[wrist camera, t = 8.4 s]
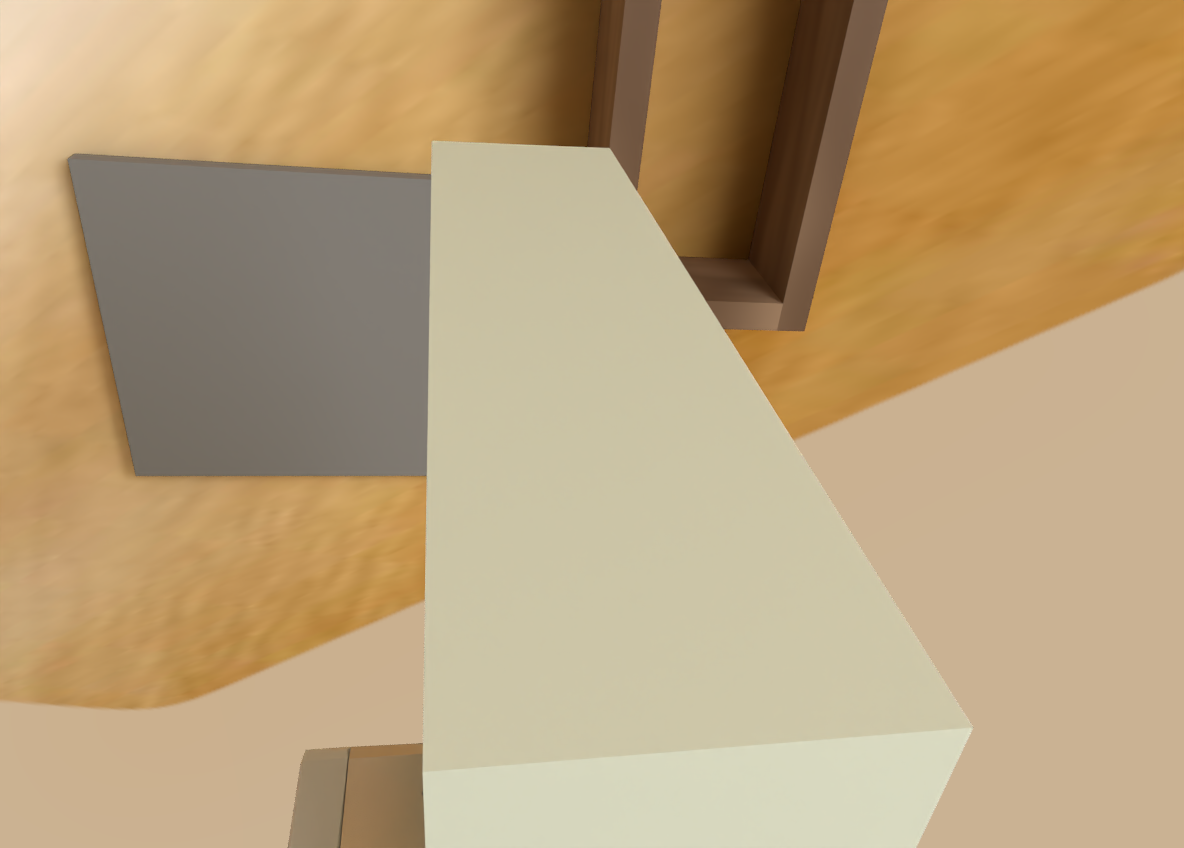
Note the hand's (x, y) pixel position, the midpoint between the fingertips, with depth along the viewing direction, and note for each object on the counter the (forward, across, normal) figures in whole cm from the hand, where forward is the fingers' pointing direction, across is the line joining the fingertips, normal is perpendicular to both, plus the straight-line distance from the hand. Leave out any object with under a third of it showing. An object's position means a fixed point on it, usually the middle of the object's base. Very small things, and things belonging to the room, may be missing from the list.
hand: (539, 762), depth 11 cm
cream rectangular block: (+6, 0, 0) cm, 6 cm away
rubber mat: (+23, +7, +5) cm, 24 cm away
